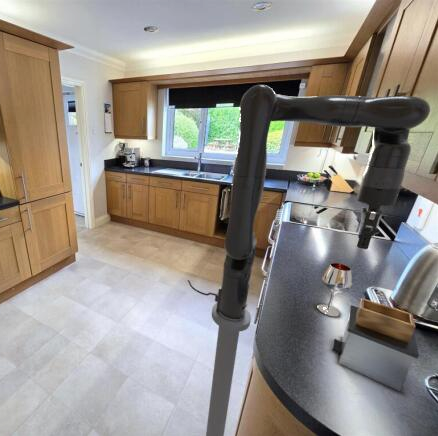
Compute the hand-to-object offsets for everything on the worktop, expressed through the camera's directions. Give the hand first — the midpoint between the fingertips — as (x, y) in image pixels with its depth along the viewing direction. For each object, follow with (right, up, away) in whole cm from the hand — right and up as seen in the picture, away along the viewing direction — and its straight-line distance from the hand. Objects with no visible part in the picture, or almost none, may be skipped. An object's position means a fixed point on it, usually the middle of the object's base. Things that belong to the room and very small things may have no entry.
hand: (362, 243), depth 67 cm
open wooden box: (+3, -22, -2) cm, 22 cm away
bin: (+3, -33, +1) cm, 33 cm away
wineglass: (+7, -27, +22) cm, 35 cm away
